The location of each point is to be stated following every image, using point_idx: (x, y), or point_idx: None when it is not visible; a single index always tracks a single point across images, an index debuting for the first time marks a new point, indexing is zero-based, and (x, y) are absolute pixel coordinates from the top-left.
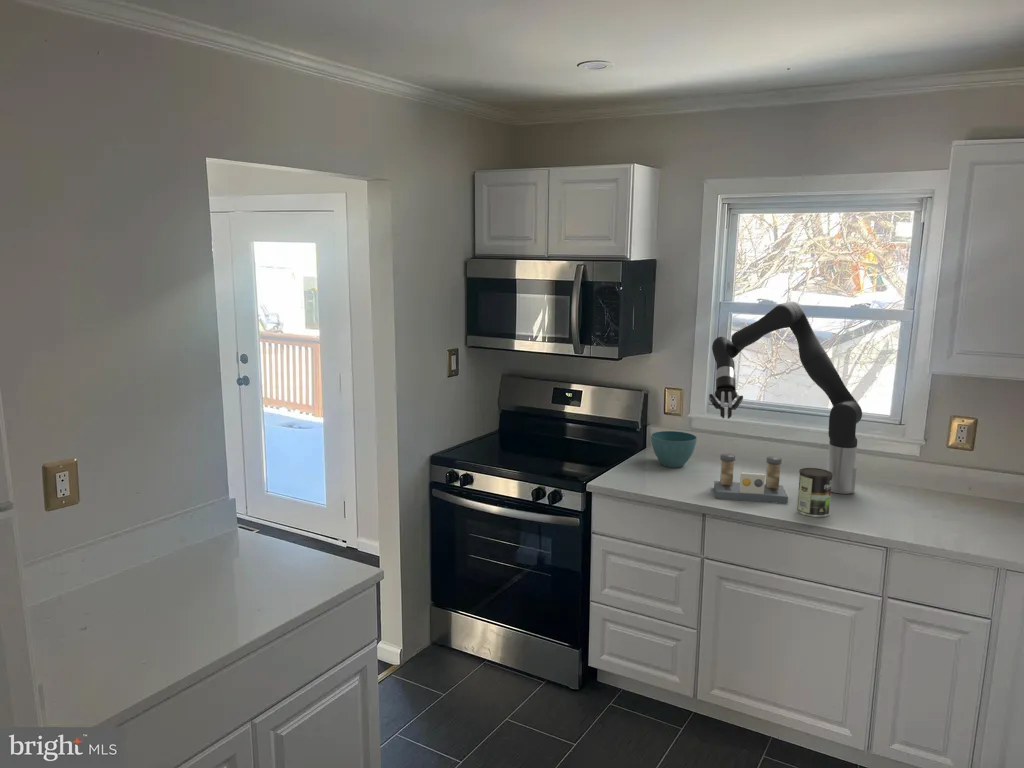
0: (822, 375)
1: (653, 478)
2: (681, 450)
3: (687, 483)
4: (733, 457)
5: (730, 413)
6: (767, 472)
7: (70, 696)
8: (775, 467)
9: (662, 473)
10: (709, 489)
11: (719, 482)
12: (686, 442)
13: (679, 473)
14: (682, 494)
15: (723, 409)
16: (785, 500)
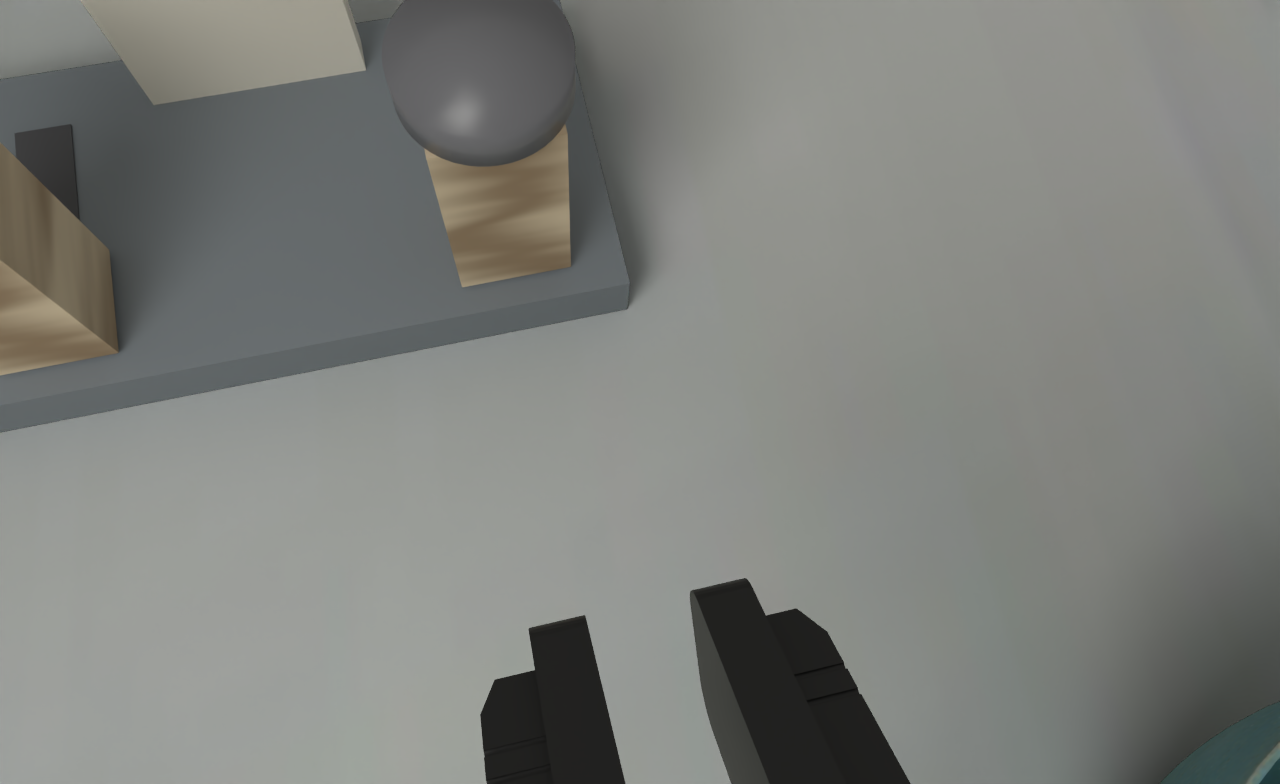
0: None
1: (1203, 341)
2: (1216, 739)
3: (878, 323)
4: (402, 5)
5: (524, 724)
6: (36, 217)
7: None
8: None
9: (1199, 543)
10: (654, 234)
11: (574, 250)
12: (1235, 779)
13: (1051, 625)
14: (831, 24)
15: (791, 737)
16: None
